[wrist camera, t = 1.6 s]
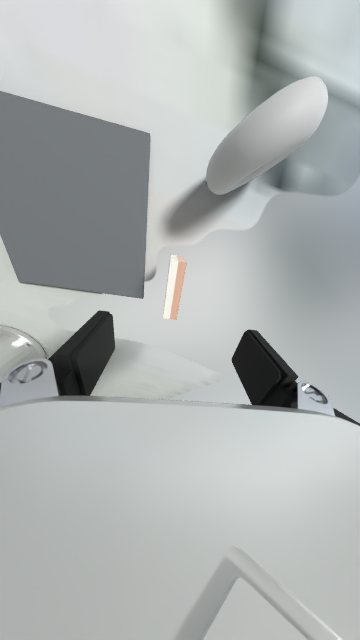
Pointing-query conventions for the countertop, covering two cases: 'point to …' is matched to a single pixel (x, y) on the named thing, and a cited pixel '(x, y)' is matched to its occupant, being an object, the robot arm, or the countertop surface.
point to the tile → (174, 286)
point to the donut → (268, 135)
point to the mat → (73, 198)
